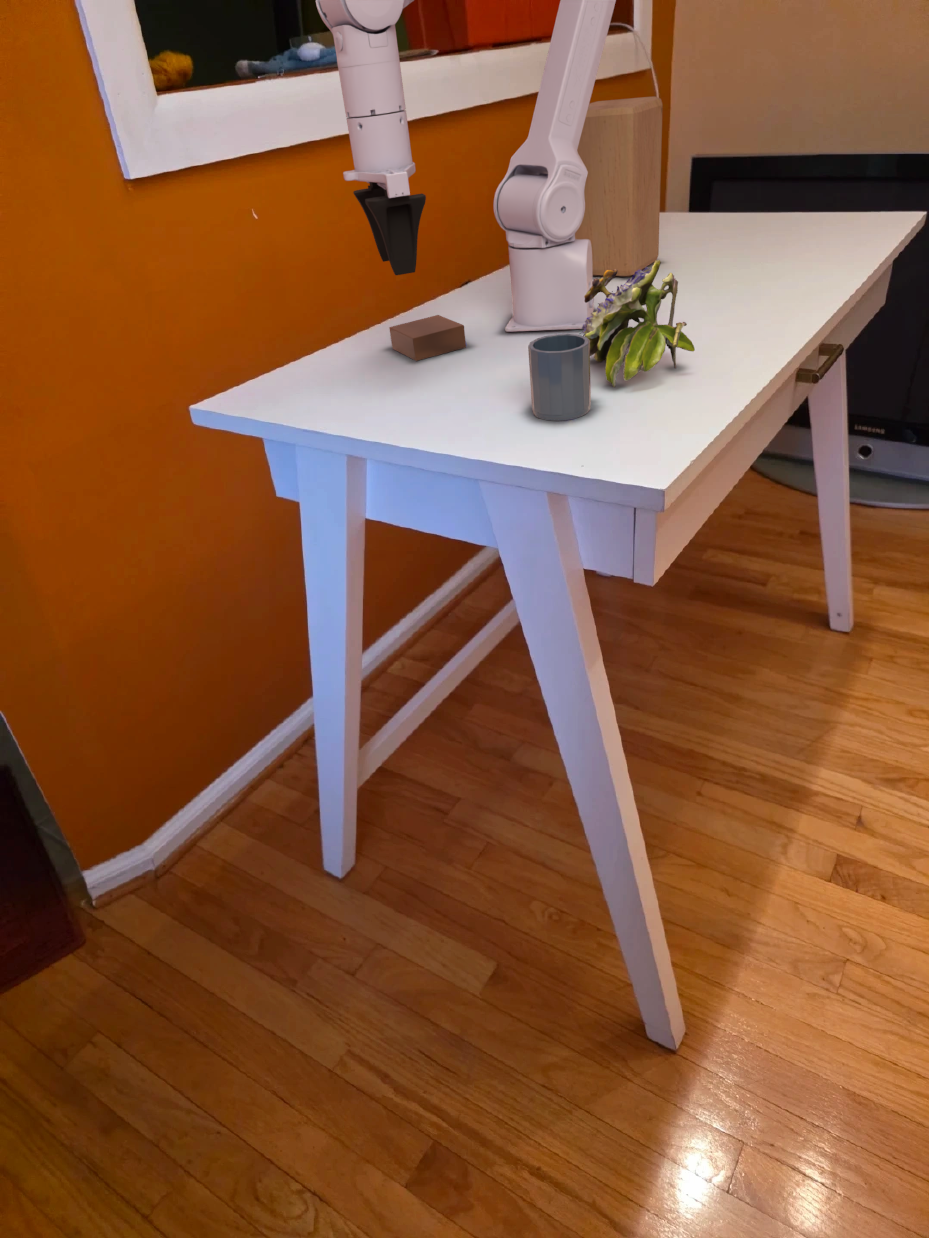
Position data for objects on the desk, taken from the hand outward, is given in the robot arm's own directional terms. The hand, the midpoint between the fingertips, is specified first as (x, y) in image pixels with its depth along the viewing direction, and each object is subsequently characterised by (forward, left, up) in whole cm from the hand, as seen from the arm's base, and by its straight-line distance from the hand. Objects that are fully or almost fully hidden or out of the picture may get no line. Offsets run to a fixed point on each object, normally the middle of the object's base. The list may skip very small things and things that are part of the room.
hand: (398, 266), depth 85 cm
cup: (-19, +16, -10) cm, 26 cm away
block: (-1, -4, -10) cm, 11 cm away
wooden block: (-19, -37, -10) cm, 43 cm away
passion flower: (-25, +5, -10) cm, 27 cm away
